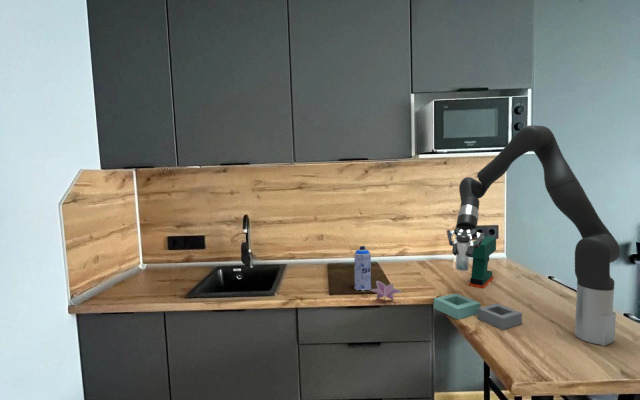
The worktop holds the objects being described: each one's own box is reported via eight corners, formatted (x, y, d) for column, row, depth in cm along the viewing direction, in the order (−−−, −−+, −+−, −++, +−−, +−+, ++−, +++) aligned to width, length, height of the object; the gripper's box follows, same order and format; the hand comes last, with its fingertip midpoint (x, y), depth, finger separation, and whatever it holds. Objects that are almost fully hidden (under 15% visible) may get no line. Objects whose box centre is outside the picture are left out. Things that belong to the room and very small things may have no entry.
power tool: (485, 269, 187) (486, 233, 186) (499, 271, 183) (500, 234, 181) (467, 285, 163) (468, 243, 161) (483, 288, 158) (484, 245, 157)
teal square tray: (480, 313, 132) (480, 303, 131) (457, 319, 127) (457, 309, 126) (455, 302, 142) (455, 293, 142) (433, 308, 137) (433, 298, 137)
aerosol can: (360, 292, 156) (360, 248, 155) (351, 287, 163) (350, 245, 162) (374, 289, 160) (374, 246, 158) (364, 284, 167) (364, 243, 165)
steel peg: (471, 269, 131) (473, 236, 130) (462, 271, 129) (463, 237, 128) (461, 266, 136) (462, 233, 134) (452, 268, 133) (453, 234, 132)
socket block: (521, 323, 122) (522, 312, 122) (502, 329, 118) (503, 318, 118) (496, 313, 131) (496, 303, 131) (477, 318, 127) (478, 308, 126)
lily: (406, 306, 142) (404, 283, 146) (391, 303, 134) (389, 278, 138) (381, 309, 149) (379, 286, 153) (365, 306, 141) (364, 282, 145)
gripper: (447, 212, 140) (440, 247, 131) (486, 214, 133) (482, 252, 124) (450, 222, 145) (443, 257, 136) (487, 225, 138) (483, 262, 129)
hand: (461, 255), depth 130 cm, fingers closed on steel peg, 4 cm apart
